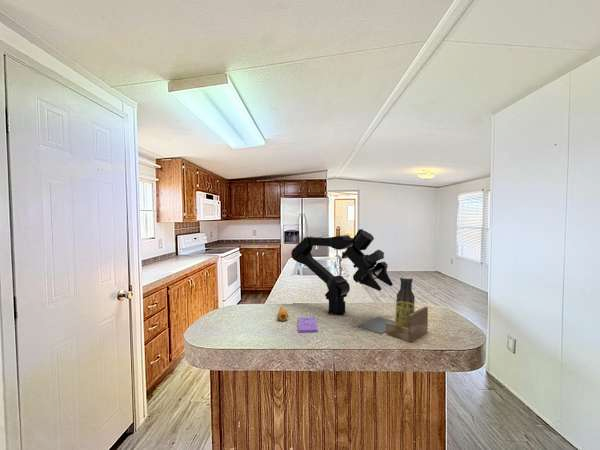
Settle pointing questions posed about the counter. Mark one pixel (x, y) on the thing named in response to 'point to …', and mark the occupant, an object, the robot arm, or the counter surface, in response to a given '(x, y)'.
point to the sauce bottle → (404, 302)
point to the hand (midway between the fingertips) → (386, 287)
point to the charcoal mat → (376, 325)
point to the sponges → (307, 325)
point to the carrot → (282, 314)
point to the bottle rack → (410, 326)
